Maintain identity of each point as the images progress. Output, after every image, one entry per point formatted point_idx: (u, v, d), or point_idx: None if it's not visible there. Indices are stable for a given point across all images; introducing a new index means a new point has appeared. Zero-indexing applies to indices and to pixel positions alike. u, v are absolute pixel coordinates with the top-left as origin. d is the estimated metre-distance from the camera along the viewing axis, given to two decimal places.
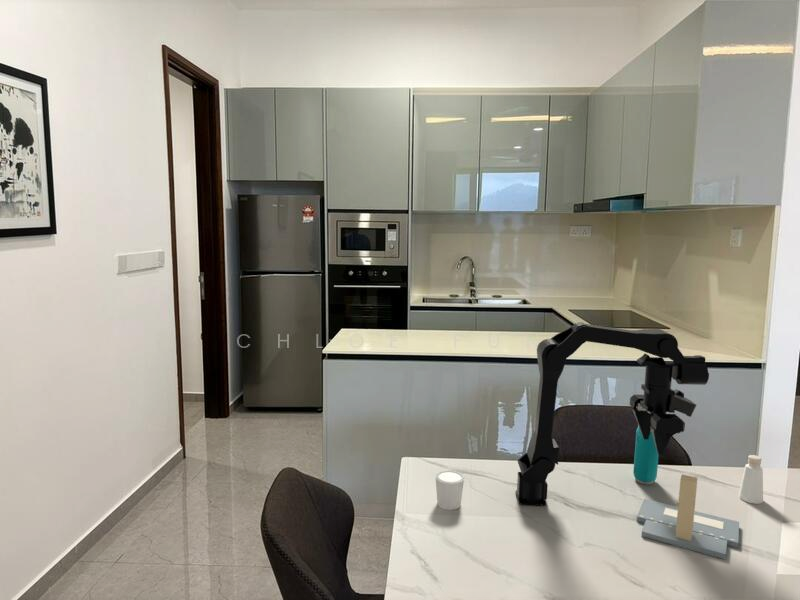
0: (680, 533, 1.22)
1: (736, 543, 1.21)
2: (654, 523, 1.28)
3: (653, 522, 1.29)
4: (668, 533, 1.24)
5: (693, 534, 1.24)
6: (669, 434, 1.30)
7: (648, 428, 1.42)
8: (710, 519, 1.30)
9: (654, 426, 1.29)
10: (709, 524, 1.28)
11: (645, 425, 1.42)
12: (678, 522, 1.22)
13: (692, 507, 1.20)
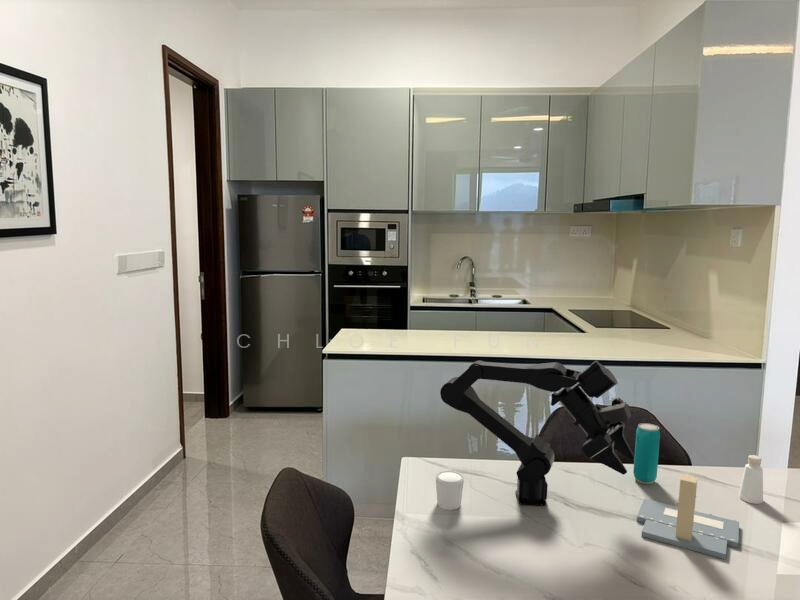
0: (680, 533, 1.22)
1: (736, 543, 1.21)
2: (654, 523, 1.28)
3: (653, 522, 1.29)
4: (668, 533, 1.24)
5: (693, 534, 1.24)
6: (609, 452, 1.25)
7: (625, 447, 1.34)
8: (710, 519, 1.30)
9: None
10: (709, 524, 1.28)
11: (621, 446, 1.34)
12: (678, 522, 1.22)
13: (692, 507, 1.20)
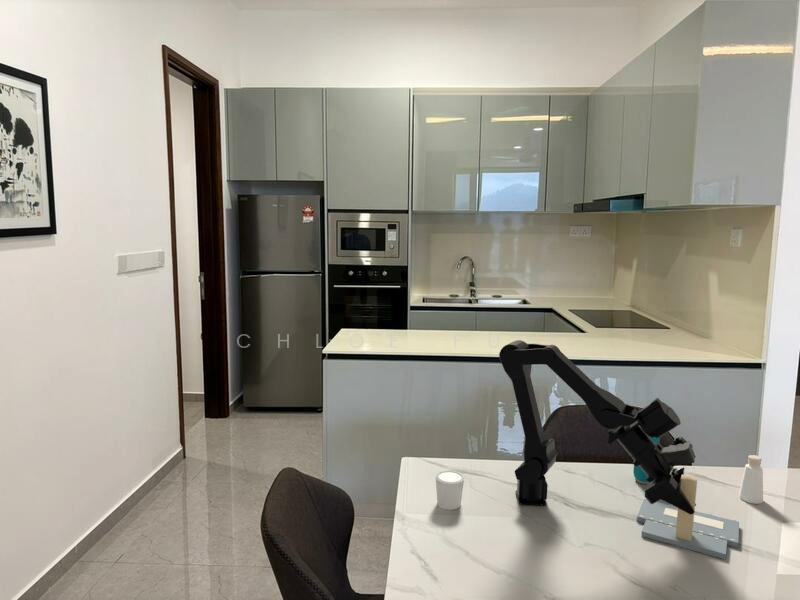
0: (680, 533, 1.22)
1: (736, 543, 1.21)
2: (654, 523, 1.28)
3: (653, 522, 1.29)
4: (668, 533, 1.24)
5: (693, 534, 1.24)
6: (676, 491, 1.20)
7: None
8: (710, 519, 1.30)
9: None
10: (709, 524, 1.28)
11: None
12: (678, 522, 1.22)
13: None
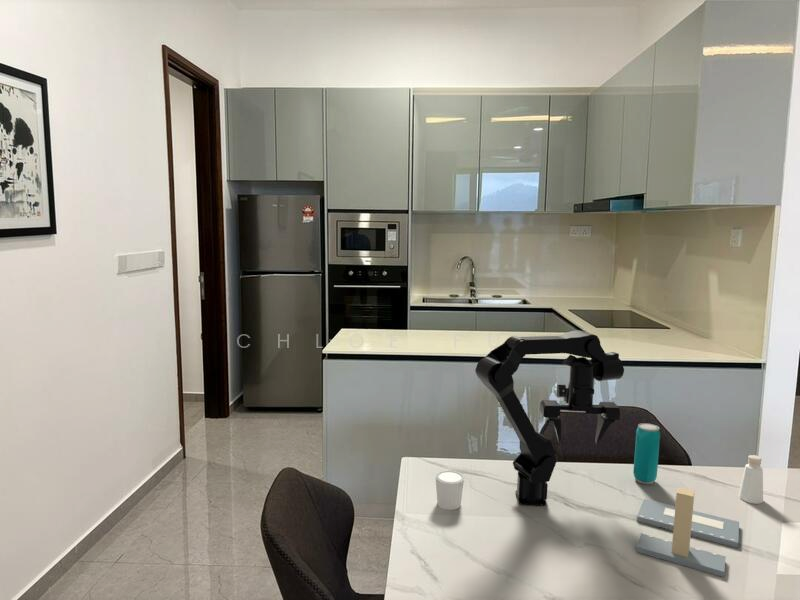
0: (677, 548, 1.16)
1: (736, 543, 1.21)
2: (649, 537, 1.22)
3: (648, 536, 1.23)
4: (664, 548, 1.18)
5: (690, 549, 1.18)
6: None
7: None
8: (710, 519, 1.30)
9: (615, 417, 1.39)
10: (709, 524, 1.28)
11: None
12: (674, 537, 1.16)
13: (689, 522, 1.15)
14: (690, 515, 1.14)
